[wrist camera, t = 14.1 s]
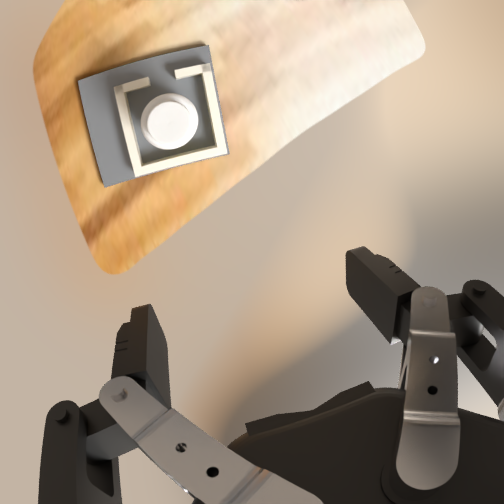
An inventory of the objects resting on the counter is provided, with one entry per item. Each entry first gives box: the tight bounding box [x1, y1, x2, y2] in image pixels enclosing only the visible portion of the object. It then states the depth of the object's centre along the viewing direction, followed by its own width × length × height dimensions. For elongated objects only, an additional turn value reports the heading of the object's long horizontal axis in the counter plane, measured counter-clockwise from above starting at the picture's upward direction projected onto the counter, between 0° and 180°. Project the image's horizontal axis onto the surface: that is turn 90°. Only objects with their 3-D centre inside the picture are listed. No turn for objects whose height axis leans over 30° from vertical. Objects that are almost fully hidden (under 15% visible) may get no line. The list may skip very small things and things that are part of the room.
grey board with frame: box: [78, 45, 230, 187], centre depth 34 cm, size 16×14×3 cm
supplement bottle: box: [141, 93, 198, 149], centre depth 30 cm, size 6×6×10 cm
